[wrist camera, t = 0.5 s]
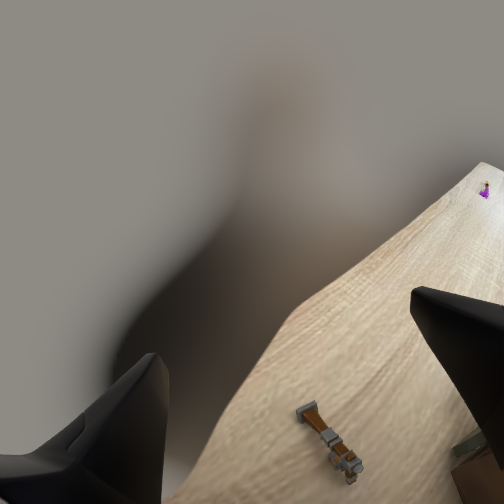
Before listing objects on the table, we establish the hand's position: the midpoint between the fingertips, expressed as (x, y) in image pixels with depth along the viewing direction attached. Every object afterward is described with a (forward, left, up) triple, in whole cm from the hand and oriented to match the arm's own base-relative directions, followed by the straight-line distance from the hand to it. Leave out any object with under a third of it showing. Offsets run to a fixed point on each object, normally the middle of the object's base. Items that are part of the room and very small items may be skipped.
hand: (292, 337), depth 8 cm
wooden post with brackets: (-1, -3, -16) cm, 17 cm away
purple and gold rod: (+36, -73, -16) cm, 83 cm away
